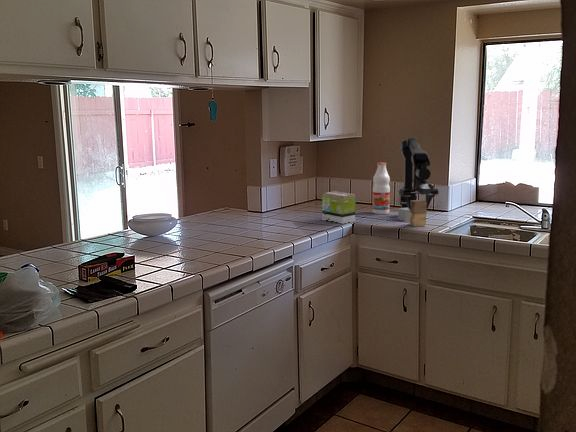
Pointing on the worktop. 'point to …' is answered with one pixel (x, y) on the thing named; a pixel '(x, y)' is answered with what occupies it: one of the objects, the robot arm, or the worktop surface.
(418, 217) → the oak block
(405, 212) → the grey block
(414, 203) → the walnut block
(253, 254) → the worktop surface
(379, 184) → the fruit juice
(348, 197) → the tea box
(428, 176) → the robot arm
